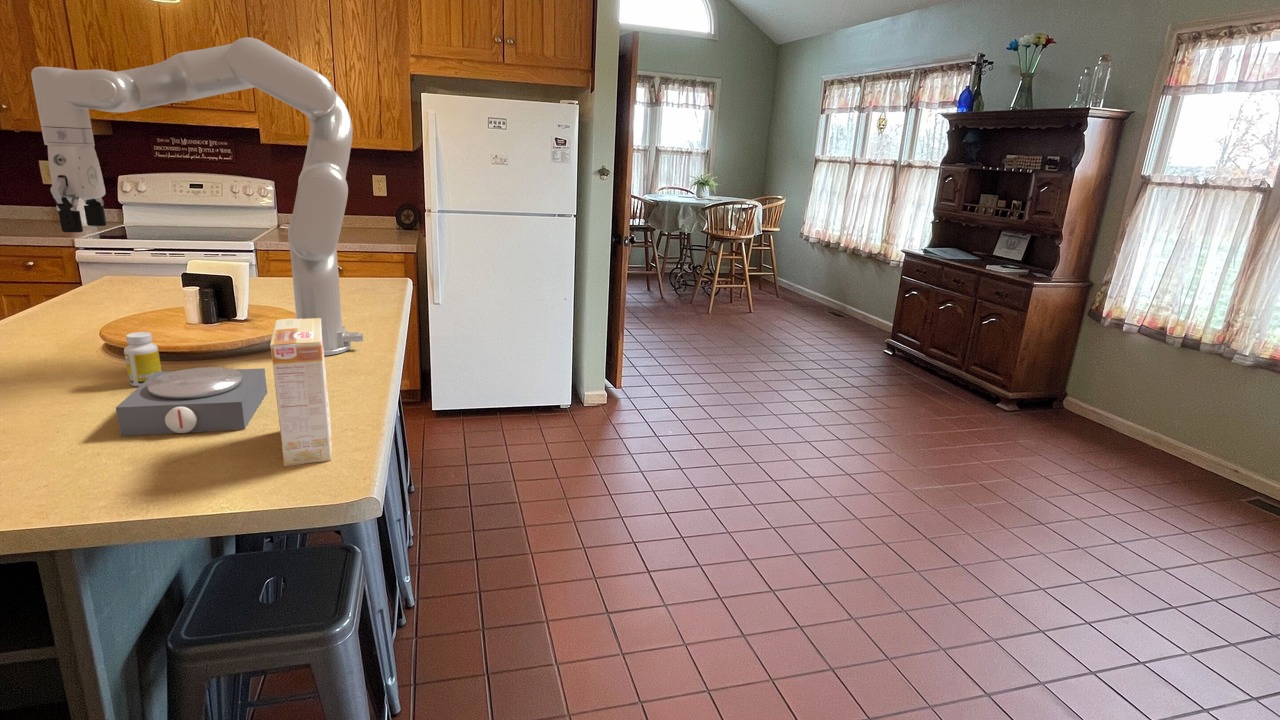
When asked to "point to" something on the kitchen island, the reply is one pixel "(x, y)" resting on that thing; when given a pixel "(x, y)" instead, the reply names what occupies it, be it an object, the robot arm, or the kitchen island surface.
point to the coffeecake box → (301, 390)
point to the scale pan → (194, 383)
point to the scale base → (192, 408)
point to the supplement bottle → (141, 357)
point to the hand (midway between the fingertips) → (85, 228)
